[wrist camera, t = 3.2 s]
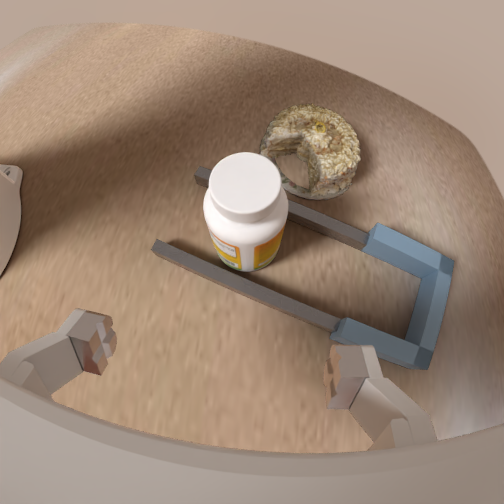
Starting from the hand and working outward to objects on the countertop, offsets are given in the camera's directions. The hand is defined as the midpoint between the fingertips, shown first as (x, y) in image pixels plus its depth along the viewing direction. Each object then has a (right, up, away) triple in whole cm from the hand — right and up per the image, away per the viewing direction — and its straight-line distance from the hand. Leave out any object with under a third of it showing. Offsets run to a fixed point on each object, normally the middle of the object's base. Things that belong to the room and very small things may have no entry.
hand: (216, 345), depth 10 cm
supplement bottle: (+1, +4, +15) cm, 16 cm away
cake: (+7, +12, +18) cm, 23 cm away
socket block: (+12, -1, +13) cm, 18 cm away
